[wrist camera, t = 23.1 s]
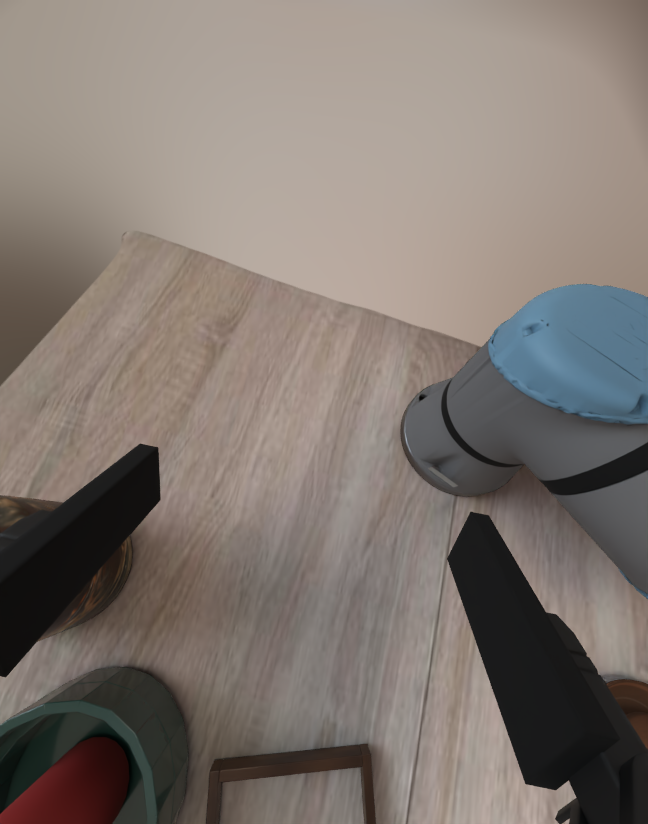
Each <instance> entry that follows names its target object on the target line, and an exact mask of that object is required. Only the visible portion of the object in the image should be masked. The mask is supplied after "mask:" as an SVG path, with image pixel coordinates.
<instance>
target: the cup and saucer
mask: <svg viewBox="0 0 648 824" xmlns="http://www.w3.org/2000/svg"><path fill="white" fill-rule="evenodd" d="M606 685H607V686H608V688H609V690H610V691H611V693H612V694H613V696H614V697H615V699H616V701H617V702H618V704H619V705H620V707H621V709H622V710H623V712H624V713H625V715H626V716H627V718H628V720H629V721H630V723H631V724H632V726H633V727H634V729H635V731H636V732H637V734H638V735H639V737H640V738H641V740H642V742H643V743H644V745H645V746H646V747H647V749H648V684H646V683H643V682H640V681H635V680H627V679H622V680H615V681H612V682H609V683H607V684H606Z"/></svg>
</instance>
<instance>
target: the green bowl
mask: <svg viewBox="0 0 648 824" xmlns="http://www.w3.org/2000/svg"><path fill="white" fill-rule="evenodd" d="M92 737H107V738H109V739H112V740H114V741H116V742H117V743H118V744H119V745H120V746H121V748H122V749H123V750H124V752H125V755H126V757H127V760H128V764H129V783H128V788H127V794H126V798H125V800H124V803H123V805H122V807H121V810H120V812H119V814H118V816H117V817H116V819H115V820H114V822H113V823H112V824H175V823H176V820H177V817H178V814H179V811H180V808H181V805H182V802H183V799H184V796H185V789H186V778H187V768H188V757H189V755H188V754H189V752H188V746H187V740H186V733H185V727H184V721H183V718H182V716H181V714H180V712H179V710H178V708H177V706H176V704H175V702H174V700H173V698H172V696H171V694H170V692H169V691H168V690H166V689H165V688H164V687H163V686H162V685H161V684H160V683H159V682H158V681H156V680H155V679H154V678H153V677H152V676H151V675H149V674H146V673H143V672H140V671H137V670H134V669H131V668H128V667H117V668H105V669H96V670H94V671H92V672H89V673H87V674H85V675H82V676H80V677H78V678H75V679H73V680H71V681H69V682H67V683H65V684H64V685H62V686H60V687H59V688H57V689H56V690H54V691H52V692H51V693H49V694H48V695H46V696H44V697H43V698H41V699H40V700H38V701H36V702H35V703H33V704H32V705H30V706H28V707H27V708H25V709H24V710H22V711H20V712H19V713H17V714H16V715H14V716H12V717H11V718H9V719H8V720H6V721H5V722H4V723H2V724H1V725H0V814H1V813H2V812H3V811H4V810H5V809H6V808H7V807H8V806H9V805H11V804H12V803H13V802H14V801H15V800H16V799H17V798H18V797H19V796H20V795H21V794H22V793H23V792H25V791H26V790H27V789H28V788H29V787H30V786H31V785H32V784H33V783H34V782H35V781H36V780H38V779H39V778H40V777H41V776H42V775H43V774H44V773H45V772H46V771H47V770H48V769H49V768H50V767H52V766H53V765H54V764H55V763H56V762H57V761H58V760H59V759H60V758H61V757H62V756H63V755H65V754H66V753H67V752H68V751H69V750H70V749H72V748H73V747H74V746H76V745H77V744H78V743H80V742H82V741H84V740H87V739H89V738H92Z"/></svg>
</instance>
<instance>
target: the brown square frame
mask: <svg viewBox="0 0 648 824" xmlns="http://www.w3.org/2000/svg"><path fill="white" fill-rule="evenodd" d="M356 767H361V782H362V797H363V813H364V824H376V818H375V805H374V791H373V778H372V764H371V754H370V751H369V748H368V744H361V745H353V746H343V747H334V748H324V749H315V750H305V751H295V752H286V753H276V754H267V755H257V756H248V757H238V758H229V759H219V760H214V762H213V765H212V768H211V770H210V777H209V790H208V804H207V818H206V824H219V819H220V803H221V787H222V782H230V781H239V780H248V779H257V778H266V777H275V776H284V775H293V774H302V773H311V772H320V771H329V770H338V769H347V768H356Z"/></svg>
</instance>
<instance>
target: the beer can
mask: <svg viewBox="0 0 648 824" xmlns="http://www.w3.org/2000/svg"><path fill="white" fill-rule="evenodd" d="M128 783H129V764H128V760H127V757H126V755H125V752H124V750H123V749H122V748H121V746H120V745H119V744H118V743H117V742H116V741H114V740H112V739H109V738H107V737H92V738H89V739H87V740H84V741H82V742H80V743H78V744H77V745H76V746H74V747H73V748H72V749H70V750H69V751H68V752H67V753H66V754H65V755H63V756H62V757H61V758H60V759H59V760H58V761H57V762H56V763H55V764H54V765H53V766H52V767H50V768H49V769H48V770H47V771H46V772H45V773H44V774H43V775H42V776H41V777H40V778H39V779H38V780H36V781H35V782H34V783H33V784H32V785H31V786H30V787H29V788H28V789H27V790H26V791H25V792H23V793H22V794H21V795H20V796H19V797H18V798H17V799H16V800H15V801H14V802H13V803H12V804H11V805H9V806H8V807H7V808H6V809H5V810H4V811H3V812H2V813H1V814H0V824H112V823H113V822H114V820H115V819H116V817H117V816H118V814H119V812H120V810H121V807H122V805H123V803H124V800H125V798H126V794H127V788H128Z"/></svg>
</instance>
